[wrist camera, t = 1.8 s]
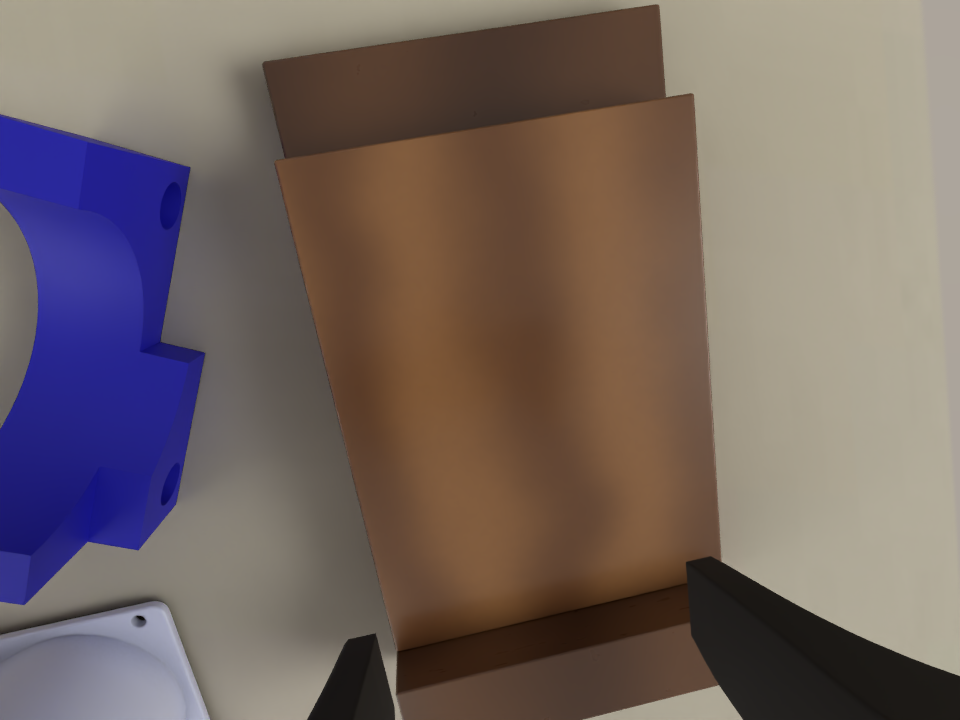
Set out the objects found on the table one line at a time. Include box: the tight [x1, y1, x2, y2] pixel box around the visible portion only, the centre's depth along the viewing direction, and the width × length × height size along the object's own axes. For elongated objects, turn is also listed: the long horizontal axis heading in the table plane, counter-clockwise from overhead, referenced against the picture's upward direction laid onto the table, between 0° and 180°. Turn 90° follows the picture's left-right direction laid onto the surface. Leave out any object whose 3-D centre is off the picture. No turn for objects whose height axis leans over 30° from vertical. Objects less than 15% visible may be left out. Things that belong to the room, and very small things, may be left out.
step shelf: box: [262, 5, 721, 720], centre depth 19 cm, size 12×23×5 cm, turn 10°
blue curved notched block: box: [0, 114, 205, 605], centre depth 16 cm, size 12×4×6 cm, turn 164°
